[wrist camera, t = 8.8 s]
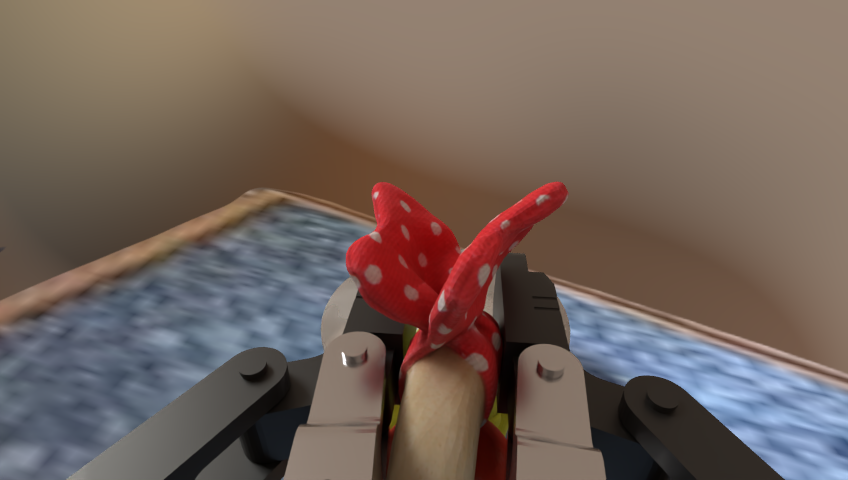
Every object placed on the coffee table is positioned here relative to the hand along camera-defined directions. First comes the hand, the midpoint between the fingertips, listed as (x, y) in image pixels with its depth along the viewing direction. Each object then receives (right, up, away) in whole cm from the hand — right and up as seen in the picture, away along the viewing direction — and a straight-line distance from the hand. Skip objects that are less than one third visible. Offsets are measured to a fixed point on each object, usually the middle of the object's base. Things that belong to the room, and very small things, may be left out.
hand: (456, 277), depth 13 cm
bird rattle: (0, -7, +1) cm, 7 cm away
